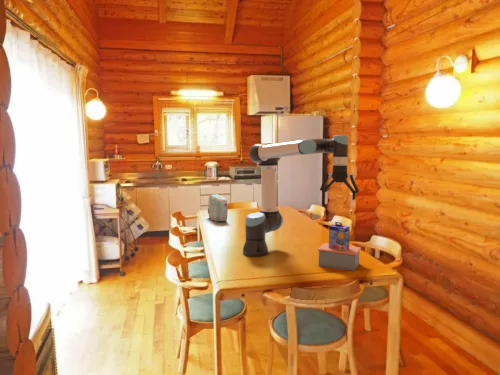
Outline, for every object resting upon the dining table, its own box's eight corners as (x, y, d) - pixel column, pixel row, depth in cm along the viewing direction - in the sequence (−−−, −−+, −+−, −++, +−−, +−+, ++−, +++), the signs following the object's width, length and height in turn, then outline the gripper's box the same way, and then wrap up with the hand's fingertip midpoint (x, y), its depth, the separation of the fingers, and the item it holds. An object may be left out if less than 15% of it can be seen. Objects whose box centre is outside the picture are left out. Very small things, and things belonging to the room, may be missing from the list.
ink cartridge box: (328, 247, 204) (328, 221, 202) (332, 245, 208) (333, 219, 206) (345, 251, 198) (346, 223, 196) (349, 248, 202) (350, 221, 200)
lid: (317, 250, 202) (317, 248, 202) (324, 244, 213) (324, 243, 213) (356, 255, 194) (356, 253, 193) (360, 249, 205) (360, 247, 205)
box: (318, 265, 203) (318, 251, 202) (324, 259, 214) (324, 245, 213) (354, 271, 195) (355, 255, 194) (359, 264, 206) (359, 249, 204)
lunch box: (206, 217, 329) (206, 193, 326) (217, 216, 334) (217, 192, 331) (217, 223, 305) (216, 197, 302) (229, 222, 309) (228, 196, 307)
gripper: (314, 164, 201) (313, 204, 203) (363, 166, 190) (361, 207, 192) (318, 163, 207) (317, 201, 210) (365, 165, 196) (364, 205, 199)
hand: (338, 204), depth 201 cm, fingers open, 13 cm apart
